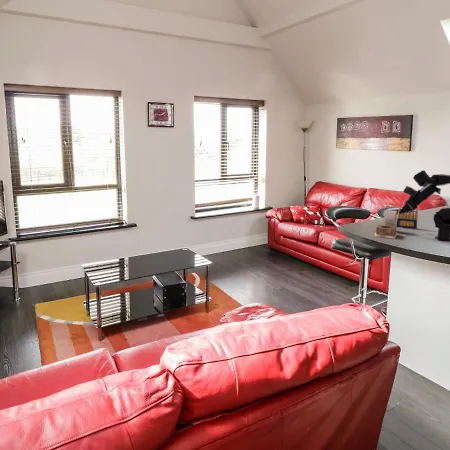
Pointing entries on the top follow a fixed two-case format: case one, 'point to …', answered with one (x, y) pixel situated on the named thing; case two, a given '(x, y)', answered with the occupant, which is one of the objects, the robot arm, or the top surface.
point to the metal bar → (390, 218)
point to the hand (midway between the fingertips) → (400, 211)
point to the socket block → (386, 231)
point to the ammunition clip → (407, 219)
